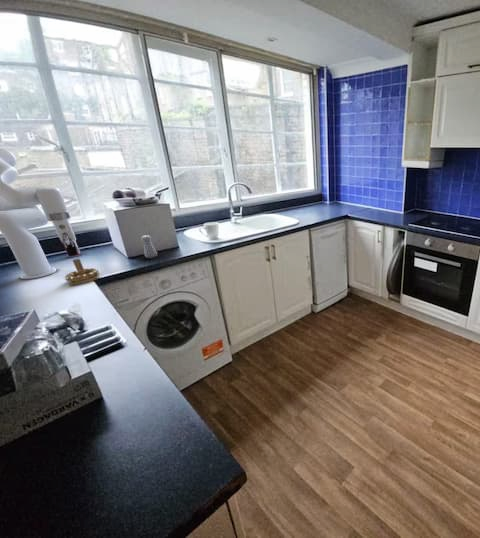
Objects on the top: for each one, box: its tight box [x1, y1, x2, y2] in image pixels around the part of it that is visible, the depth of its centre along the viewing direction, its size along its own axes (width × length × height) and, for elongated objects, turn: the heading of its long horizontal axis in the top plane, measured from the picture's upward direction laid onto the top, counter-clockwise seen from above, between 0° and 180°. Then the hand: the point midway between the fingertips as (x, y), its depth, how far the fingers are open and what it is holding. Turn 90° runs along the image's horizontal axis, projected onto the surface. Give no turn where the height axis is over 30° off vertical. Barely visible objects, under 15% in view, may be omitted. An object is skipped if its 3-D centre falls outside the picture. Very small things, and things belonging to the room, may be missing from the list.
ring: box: [64, 267, 100, 283], centre depth 137 cm, size 12×12×2 cm
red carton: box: [62, 240, 82, 258], centre depth 169 cm, size 6×6×12 cm
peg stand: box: [70, 258, 99, 287], centre depth 136 cm, size 9×9×10 cm
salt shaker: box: [140, 235, 158, 259], centre depth 160 cm, size 6×6×13 cm
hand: (73, 252), depth 136 cm, fingers open, 9 cm apart
